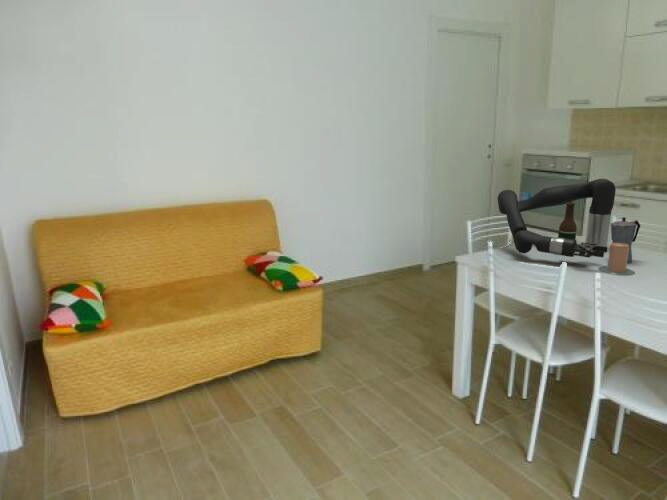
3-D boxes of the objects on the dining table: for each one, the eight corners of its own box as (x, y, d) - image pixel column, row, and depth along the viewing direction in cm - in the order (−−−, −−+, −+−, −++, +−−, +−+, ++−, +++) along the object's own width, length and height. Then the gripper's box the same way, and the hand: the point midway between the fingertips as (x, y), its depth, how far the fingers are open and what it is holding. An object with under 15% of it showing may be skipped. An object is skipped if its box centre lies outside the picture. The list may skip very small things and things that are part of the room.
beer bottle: (570, 251, 232) (576, 201, 226) (576, 256, 224) (583, 204, 218) (553, 251, 233) (558, 201, 226) (559, 255, 225) (564, 203, 219)
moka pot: (597, 261, 216) (603, 216, 210) (623, 257, 221) (629, 213, 216) (616, 267, 207) (623, 220, 202) (643, 263, 212) (650, 217, 207)
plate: (595, 266, 208) (595, 265, 207) (630, 269, 204) (630, 267, 203) (601, 276, 196) (601, 274, 195) (638, 278, 192) (638, 276, 192)
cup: (605, 267, 203) (609, 242, 201) (623, 269, 201) (626, 243, 199) (609, 272, 197) (612, 245, 195) (627, 273, 196) (630, 246, 193)
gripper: (565, 251, 217) (607, 256, 207) (557, 259, 206) (601, 265, 196) (567, 234, 215) (609, 239, 205) (559, 241, 204) (603, 247, 194)
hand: (605, 252), depth 201 cm, fingers open, 8 cm apart
